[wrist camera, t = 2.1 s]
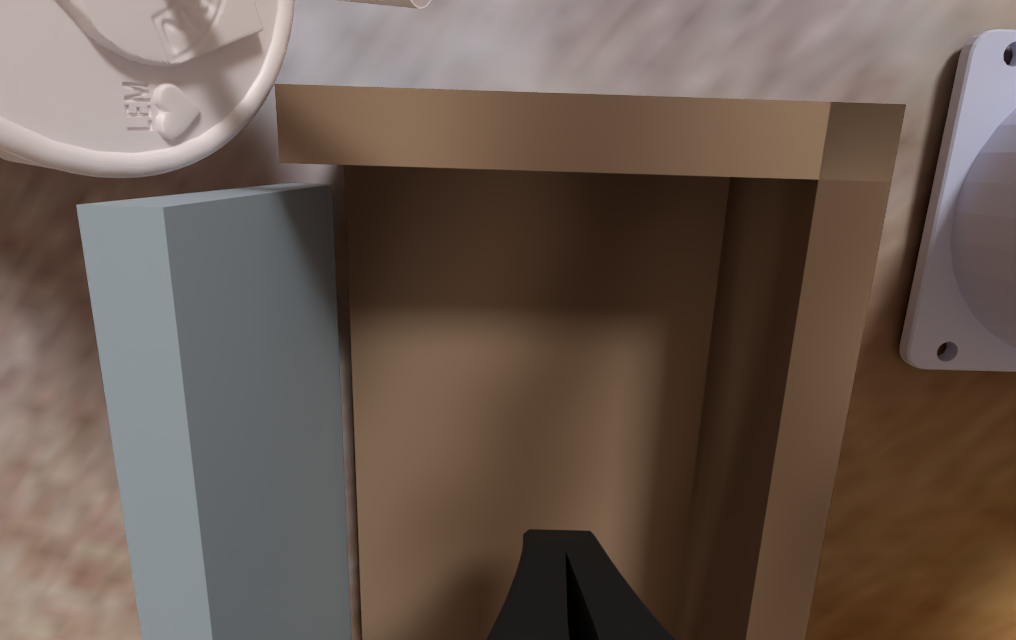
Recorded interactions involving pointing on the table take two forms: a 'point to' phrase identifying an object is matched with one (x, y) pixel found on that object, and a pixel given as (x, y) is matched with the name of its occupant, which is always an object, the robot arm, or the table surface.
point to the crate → (599, 340)
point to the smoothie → (136, 79)
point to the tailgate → (225, 408)
